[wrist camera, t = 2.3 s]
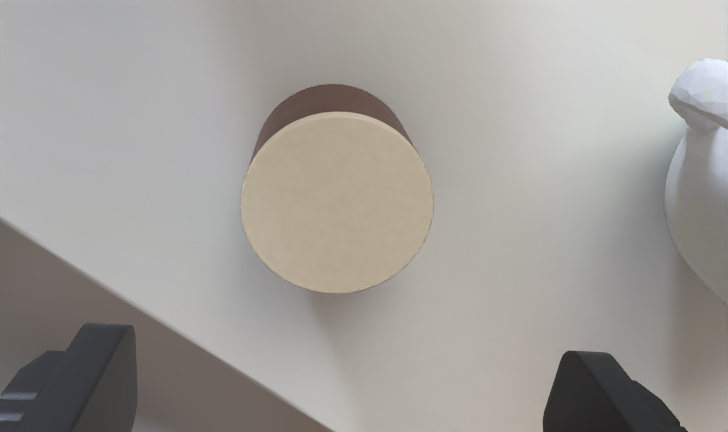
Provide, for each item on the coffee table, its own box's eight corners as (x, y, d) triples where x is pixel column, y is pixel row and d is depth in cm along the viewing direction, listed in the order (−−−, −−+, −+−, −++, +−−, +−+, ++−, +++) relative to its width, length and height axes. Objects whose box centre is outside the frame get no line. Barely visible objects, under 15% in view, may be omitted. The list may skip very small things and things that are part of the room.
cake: (259, 75, 20) (244, 105, 15) (420, 93, 21) (450, 126, 16) (252, 224, 22) (237, 288, 18) (396, 235, 23) (417, 299, 19)
